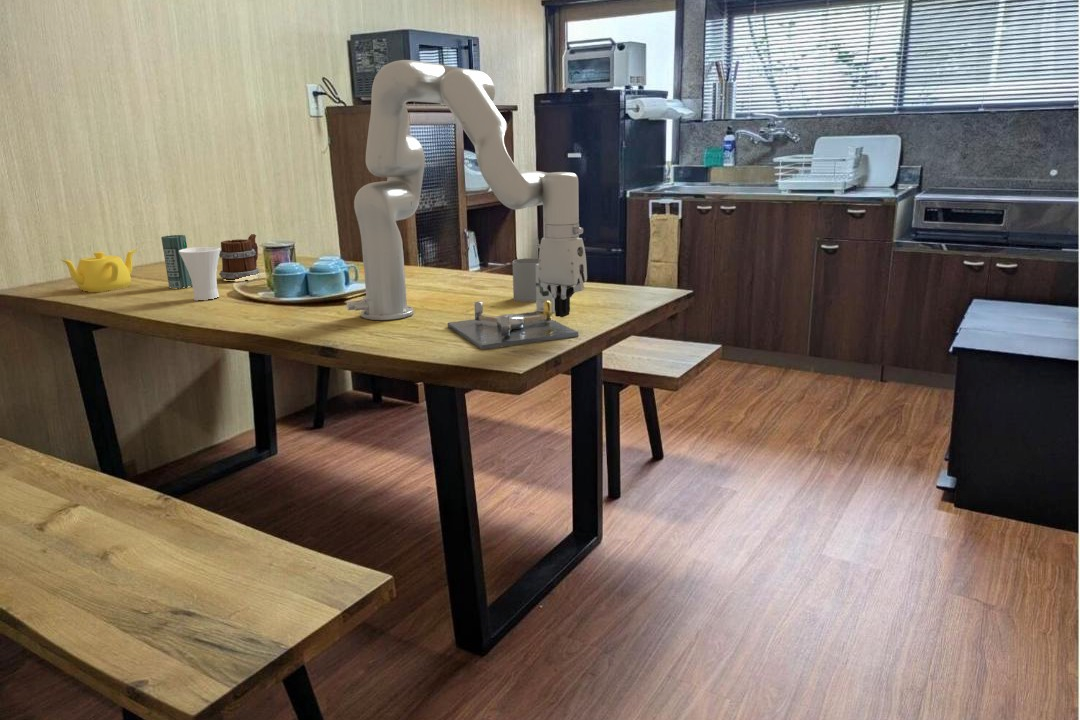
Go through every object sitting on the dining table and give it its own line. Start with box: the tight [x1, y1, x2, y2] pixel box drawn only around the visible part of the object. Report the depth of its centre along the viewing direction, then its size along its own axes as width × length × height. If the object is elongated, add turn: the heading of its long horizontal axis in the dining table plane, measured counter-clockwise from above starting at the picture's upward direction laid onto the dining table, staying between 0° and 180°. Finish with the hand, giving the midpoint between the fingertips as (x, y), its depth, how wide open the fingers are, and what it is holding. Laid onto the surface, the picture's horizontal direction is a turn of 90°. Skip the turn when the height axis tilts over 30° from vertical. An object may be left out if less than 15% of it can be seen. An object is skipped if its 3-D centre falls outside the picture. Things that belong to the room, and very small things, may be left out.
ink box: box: [535, 264, 555, 314], centre depth 192 cm, size 9×5×12 cm, turn 151°
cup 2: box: [512, 257, 539, 303], centre depth 205 cm, size 8×8×10 cm
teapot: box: [60, 249, 137, 293], centre depth 230 cm, size 22×16×11 cm
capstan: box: [473, 301, 553, 336], centre depth 173 cm, size 15×17×5 cm
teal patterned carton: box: [161, 234, 193, 288], centre depth 229 cm, size 6×6×15 cm
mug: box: [218, 233, 261, 280], centre depth 242 cm, size 12×14×15 cm
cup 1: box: [179, 246, 221, 301], centre depth 213 cm, size 10×10×14 cm
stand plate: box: [447, 311, 579, 350], centre depth 173 cm, size 22×22×1 cm
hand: (562, 315), depth 172 cm, fingers closed
